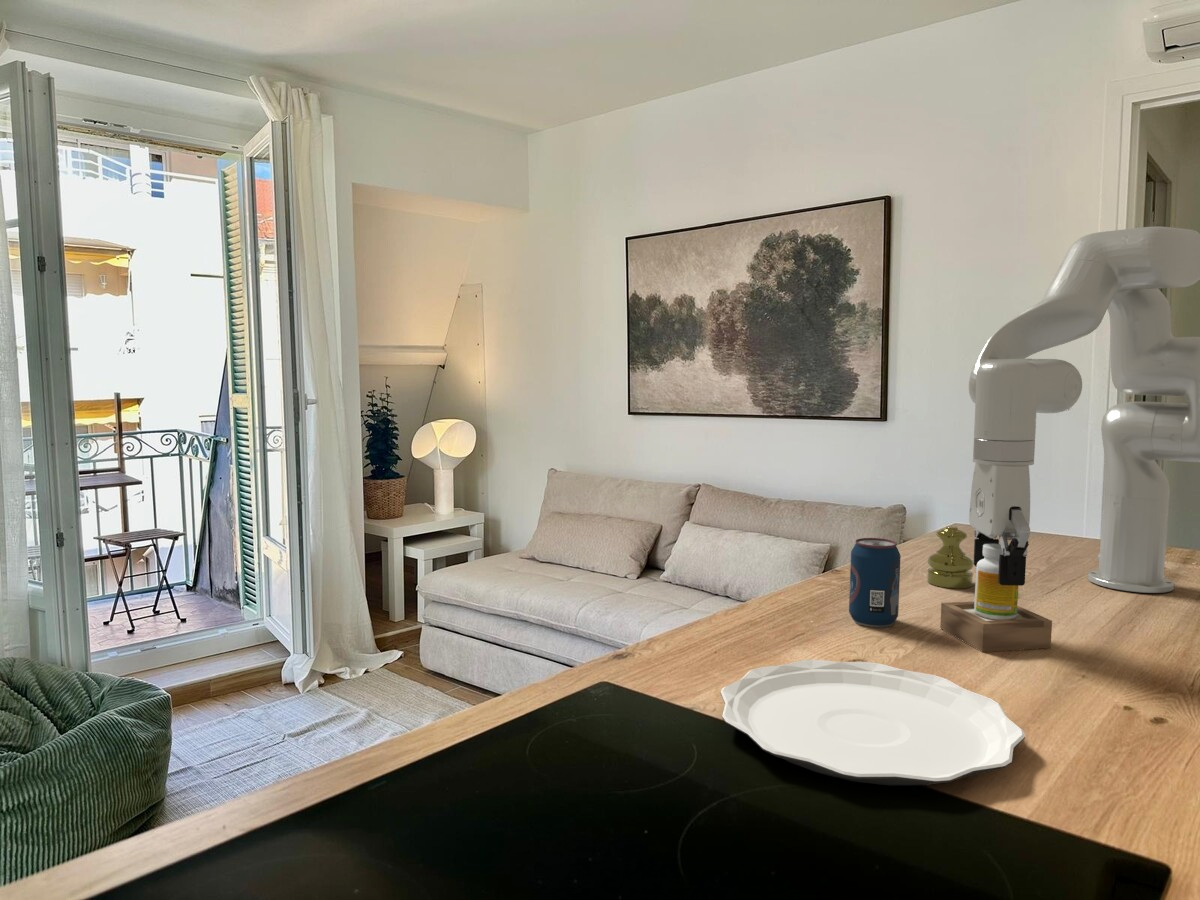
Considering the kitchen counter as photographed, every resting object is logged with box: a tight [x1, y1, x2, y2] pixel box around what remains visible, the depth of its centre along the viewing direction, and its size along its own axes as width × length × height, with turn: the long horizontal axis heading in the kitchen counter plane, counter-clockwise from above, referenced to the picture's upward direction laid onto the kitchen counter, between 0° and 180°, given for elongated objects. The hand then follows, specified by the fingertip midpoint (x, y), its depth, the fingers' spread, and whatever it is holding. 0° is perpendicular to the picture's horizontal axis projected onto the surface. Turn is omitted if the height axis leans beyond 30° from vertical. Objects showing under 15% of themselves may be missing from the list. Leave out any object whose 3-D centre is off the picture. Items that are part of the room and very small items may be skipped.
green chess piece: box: [926, 525, 975, 590], centre depth 146 cm, size 7×7×10 cm
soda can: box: [848, 537, 902, 628], centre depth 124 cm, size 7×7×12 cm
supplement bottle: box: [973, 543, 1019, 620], centre depth 116 cm, size 5×5×10 cm
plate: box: [720, 659, 1026, 786], centre depth 88 cm, size 29×29×2 cm
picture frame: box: [939, 601, 1053, 653], centre depth 117 cm, size 10×10×4 cm
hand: (997, 575), depth 116 cm, fingers open, 9 cm apart
